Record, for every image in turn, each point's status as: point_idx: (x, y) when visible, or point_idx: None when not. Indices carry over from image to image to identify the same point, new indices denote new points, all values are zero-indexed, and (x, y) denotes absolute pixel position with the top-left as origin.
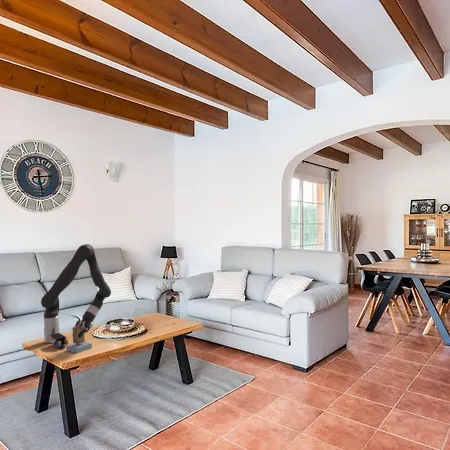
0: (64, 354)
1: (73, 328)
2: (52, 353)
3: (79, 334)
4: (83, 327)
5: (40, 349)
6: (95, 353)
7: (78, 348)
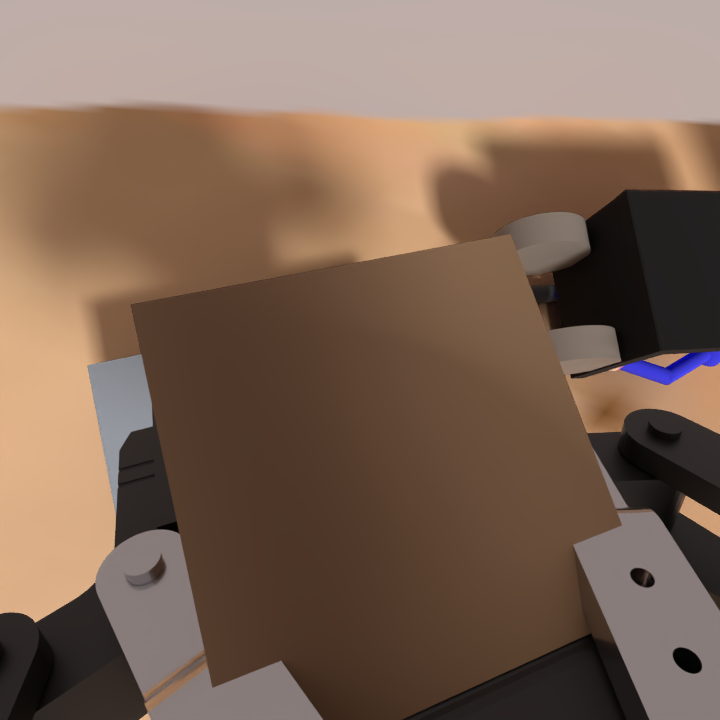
0: (231, 241)
1: (425, 261)
2: (399, 163)
3: (153, 442)
4: (152, 710)
5: (638, 141)
6: None
7: (94, 399)
